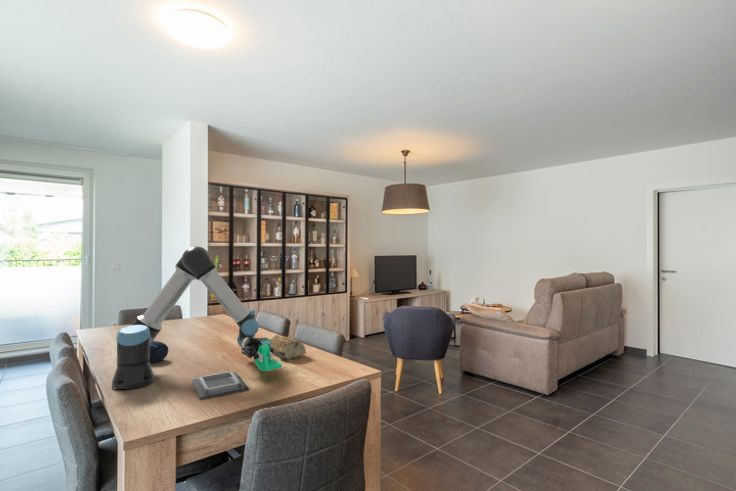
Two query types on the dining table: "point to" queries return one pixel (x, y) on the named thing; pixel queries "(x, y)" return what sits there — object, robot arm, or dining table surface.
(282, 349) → the petrified wood
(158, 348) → the portable speaker
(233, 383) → the plate
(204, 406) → the dining table surface
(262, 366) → the camera mount
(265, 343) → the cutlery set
